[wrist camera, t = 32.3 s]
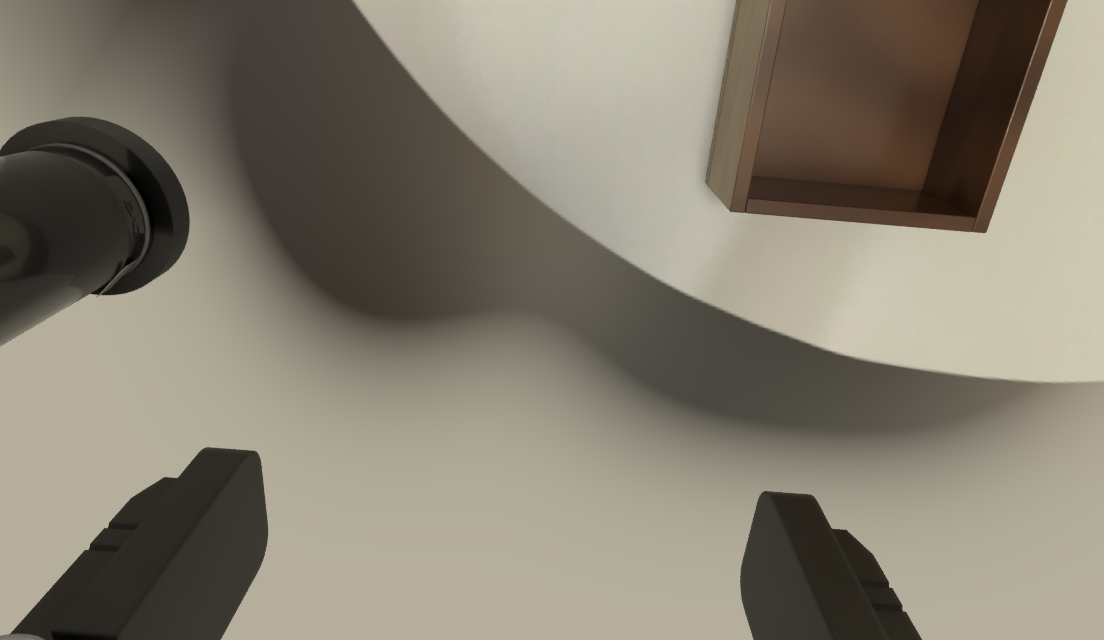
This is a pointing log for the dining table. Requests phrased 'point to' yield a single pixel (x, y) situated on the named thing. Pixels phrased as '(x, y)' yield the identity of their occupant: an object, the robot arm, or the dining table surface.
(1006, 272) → the dining table surface
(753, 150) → the chest
